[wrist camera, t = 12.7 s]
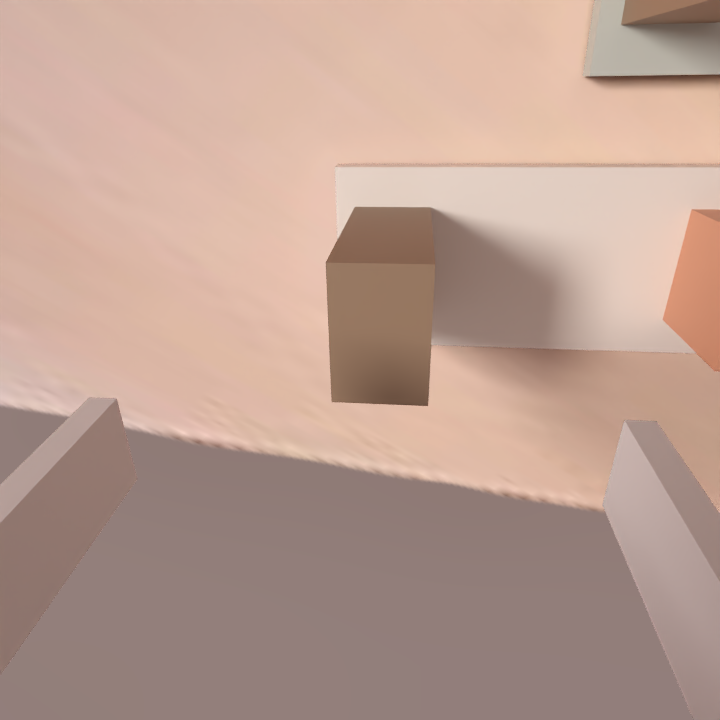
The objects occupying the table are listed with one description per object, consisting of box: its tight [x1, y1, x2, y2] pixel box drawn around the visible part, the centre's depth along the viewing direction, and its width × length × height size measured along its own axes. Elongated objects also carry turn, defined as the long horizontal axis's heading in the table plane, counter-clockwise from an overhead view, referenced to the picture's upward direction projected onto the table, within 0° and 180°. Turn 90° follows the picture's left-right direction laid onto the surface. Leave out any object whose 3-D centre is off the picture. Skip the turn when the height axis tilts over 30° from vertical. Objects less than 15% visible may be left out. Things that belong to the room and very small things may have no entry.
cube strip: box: [326, 164, 720, 406], centre depth 25 cm, size 28×10×11 cm, turn 91°
